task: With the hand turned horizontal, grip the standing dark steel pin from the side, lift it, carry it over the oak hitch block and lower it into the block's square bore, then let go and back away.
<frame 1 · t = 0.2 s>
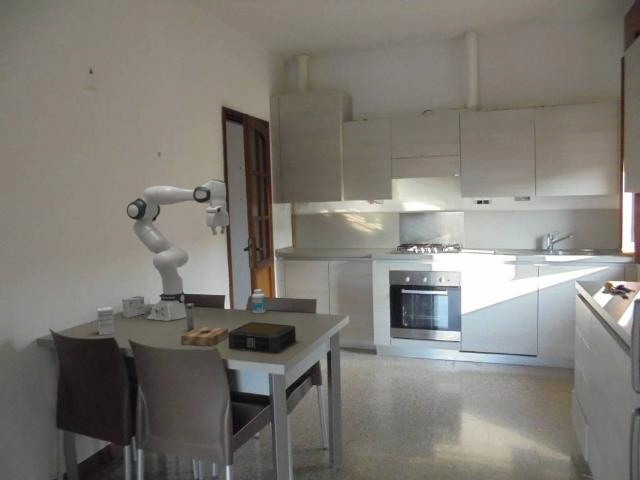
hand: (218, 234, 269), 48 cm above the table, tool pointing down, fingers open, 8 cm apart
pill bottle: (259, 312, 287), on the table
cash box: (262, 345, 222), on the table
light bulb box: (134, 316, 290), on the table
steel pin: (190, 331, 250), on the table
hitch block: (205, 340, 232), on the table
supplement box: (106, 333, 252), on the table
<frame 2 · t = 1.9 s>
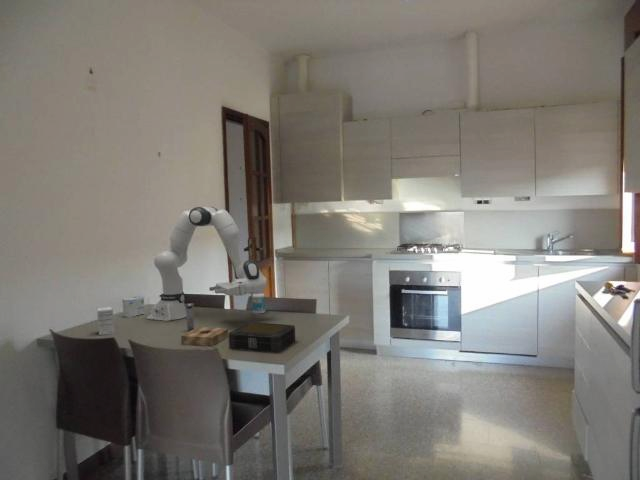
hand: (212, 290, 254), 20 cm above the table, tool horizontal, fingers open, 8 cm apart
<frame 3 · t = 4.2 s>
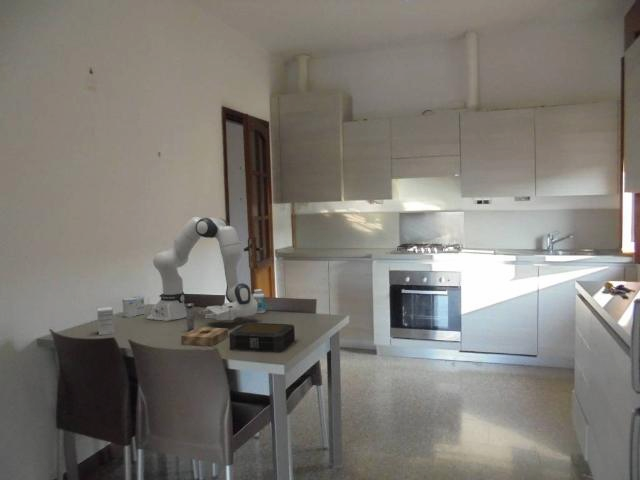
hand: (202, 314, 253), 8 cm above the table, tool horizontal, fingers open, 8 cm apart
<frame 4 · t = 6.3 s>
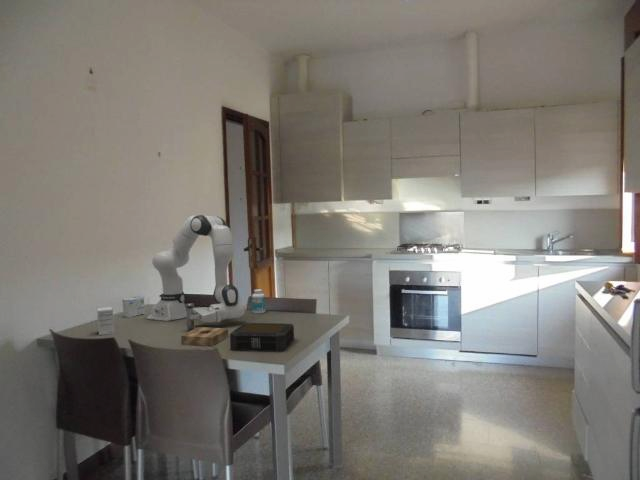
hand: (188, 316, 249), 8 cm above the table, tool horizontal, fingers closed on steel pin, 3 cm apart
steel pin: (190, 331, 250), on the table, touching gripper
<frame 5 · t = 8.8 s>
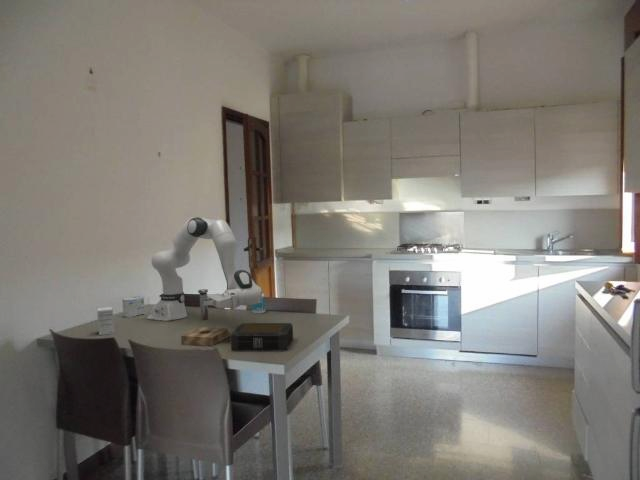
hand: (201, 302, 231), 18 cm above the table, tool horizontal, fingers closed on steel pin, 3 cm apart
steel pin: (204, 319, 232), point 10 cm above the table, touching gripper
when the fingers open (9 cm above the table, at t = 11.2 s): steel pin stays where it is, resting in hitch block.
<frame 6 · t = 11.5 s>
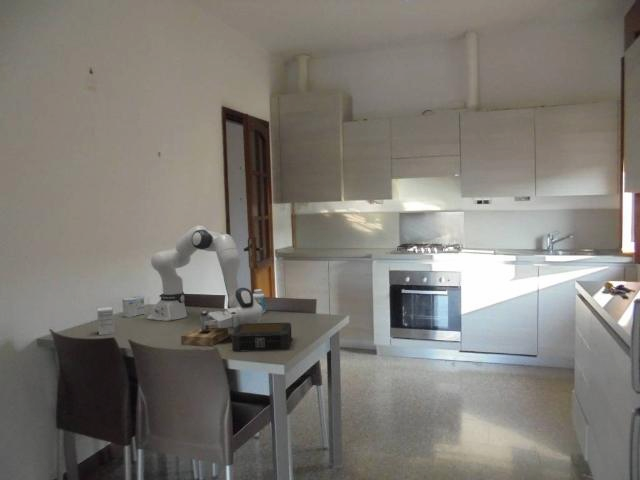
hand: (202, 321, 231), 9 cm above the table, tool horizontal, fingers open, 6 cm apart
steel pin: (205, 340, 233), resting in hitch block
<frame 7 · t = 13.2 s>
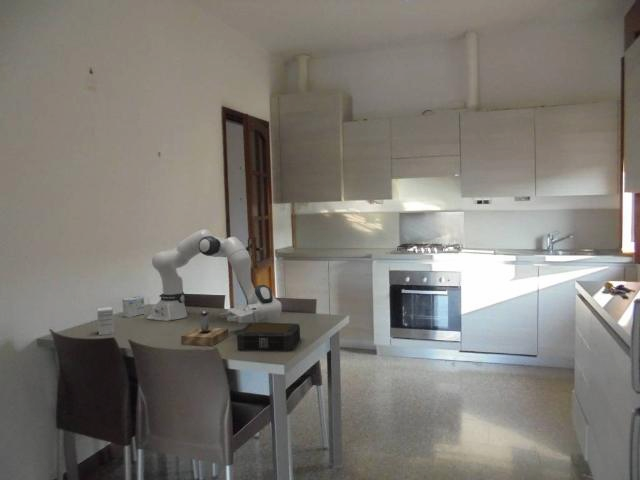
hand: (224, 317, 236), 10 cm above the table, tool horizontal, fingers open, 8 cm apart
cash box: (269, 345, 223), on the table
everything else where it was.
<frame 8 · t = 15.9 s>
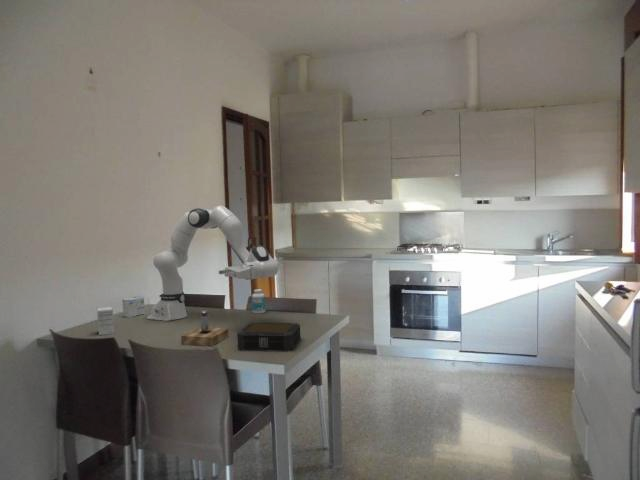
hand: (221, 273, 242), 30 cm above the table, tool horizontal, fingers open, 8 cm apart
nothing on the table moved.
at the end: steel pin 0.1 cm off-centre on the hitch block, point 0.0 cm above the hitch block's base; steel pin tilted 0°; the gripper is holding nothing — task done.
